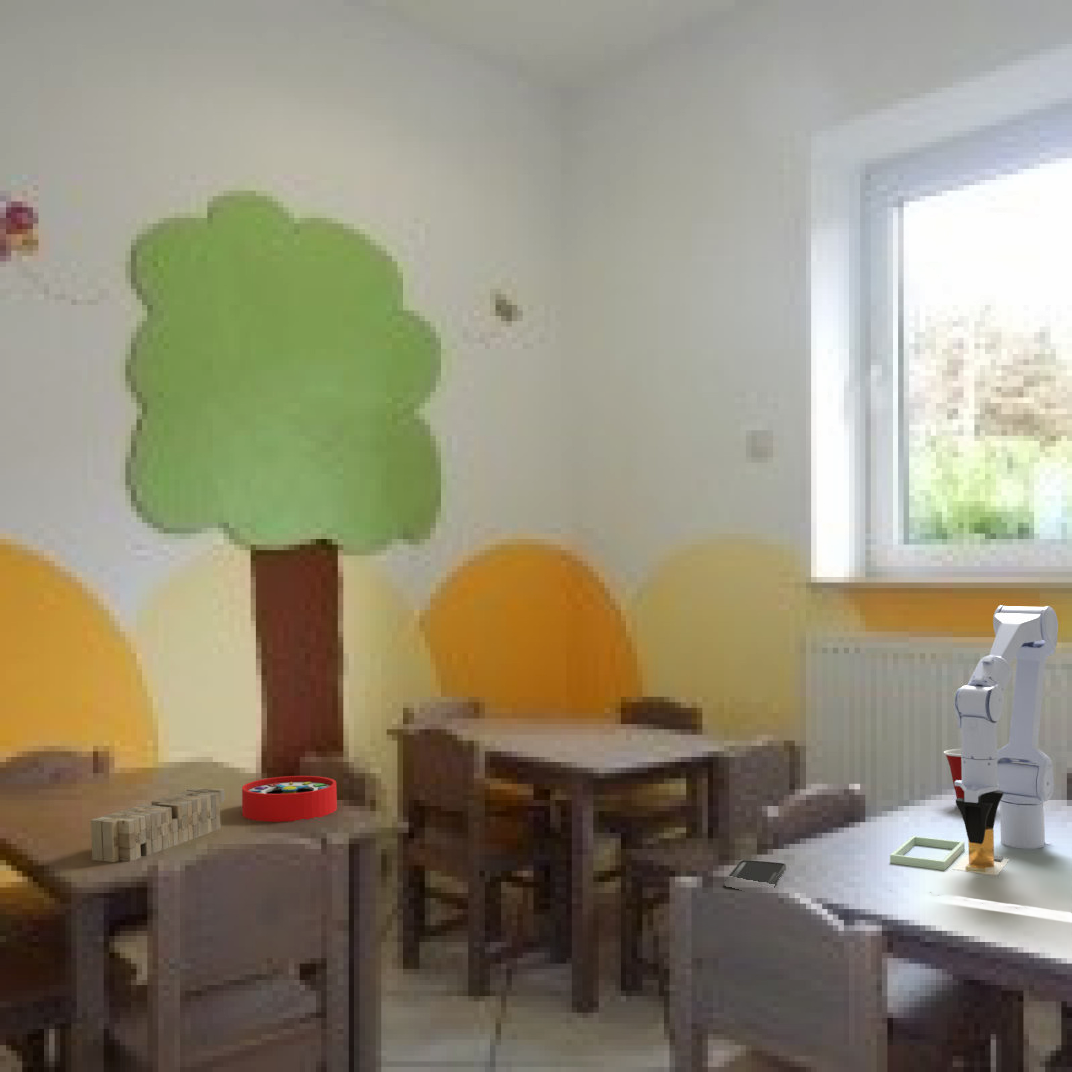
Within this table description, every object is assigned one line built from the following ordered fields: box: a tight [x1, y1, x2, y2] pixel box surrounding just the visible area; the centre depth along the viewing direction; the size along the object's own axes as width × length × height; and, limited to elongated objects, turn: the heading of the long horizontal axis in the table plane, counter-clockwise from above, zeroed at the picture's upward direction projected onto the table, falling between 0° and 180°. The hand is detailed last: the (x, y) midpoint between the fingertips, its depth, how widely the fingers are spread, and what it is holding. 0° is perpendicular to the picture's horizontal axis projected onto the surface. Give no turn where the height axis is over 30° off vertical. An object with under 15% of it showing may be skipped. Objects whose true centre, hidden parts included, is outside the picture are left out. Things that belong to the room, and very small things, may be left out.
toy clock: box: [241, 775, 338, 823], centre depth 245 cm, size 20×6×20 cm
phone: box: [728, 859, 787, 885], centre depth 190 cm, size 8×1×15 cm
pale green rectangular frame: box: [889, 835, 965, 871], centre depth 197 cm, size 15×9×2 cm, turn 148°
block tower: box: [90, 787, 226, 863], centre depth 219 cm, size 8×8×29 cm
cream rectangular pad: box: [952, 853, 1010, 876], centre depth 191 cm, size 11×7×2 cm, turn 148°
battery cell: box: [967, 827, 995, 867], centre depth 191 cm, size 4×4×7 cm
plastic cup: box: [943, 748, 964, 799], centre depth 240 cm, size 11×11×12 cm
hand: (980, 837), depth 191 cm, fingers open, 7 cm apart
